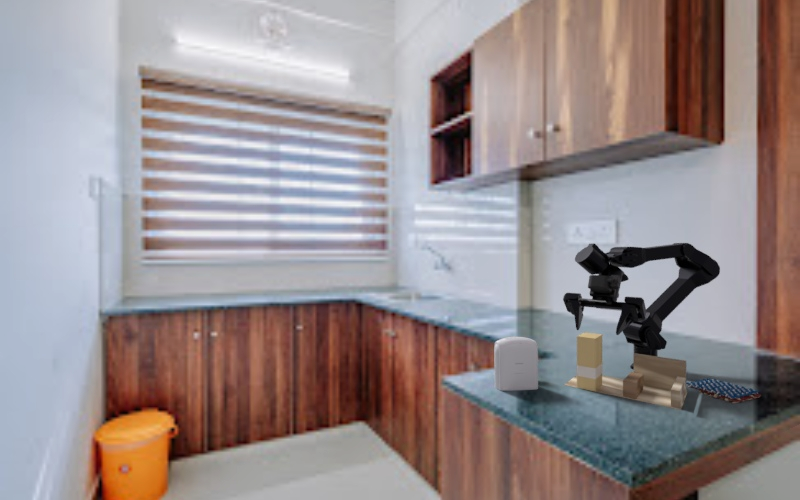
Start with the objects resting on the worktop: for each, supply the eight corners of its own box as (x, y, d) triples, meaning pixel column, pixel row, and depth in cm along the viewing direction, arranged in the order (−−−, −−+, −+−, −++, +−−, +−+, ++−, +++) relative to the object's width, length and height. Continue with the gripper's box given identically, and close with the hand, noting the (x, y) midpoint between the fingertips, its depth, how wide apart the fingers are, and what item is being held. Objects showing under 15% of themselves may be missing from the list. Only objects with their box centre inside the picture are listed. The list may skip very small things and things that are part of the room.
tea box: (584, 381, 98) (584, 332, 98) (602, 384, 95) (602, 334, 96) (576, 387, 93) (576, 336, 94) (595, 391, 91) (595, 338, 91)
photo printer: (497, 393, 91) (497, 339, 91) (491, 387, 95) (491, 335, 95) (541, 392, 92) (541, 338, 92) (533, 386, 96) (533, 334, 96)
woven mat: (735, 407, 85) (735, 397, 85) (683, 390, 95) (683, 382, 95) (763, 399, 89) (763, 390, 89) (711, 385, 99) (711, 376, 99)
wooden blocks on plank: (581, 373, 106) (581, 345, 106) (687, 393, 91) (687, 360, 91) (563, 387, 95) (563, 355, 95) (680, 412, 81) (680, 374, 81)
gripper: (565, 263, 110) (550, 307, 101) (643, 264, 97) (634, 315, 89) (574, 289, 116) (561, 333, 107) (649, 294, 103) (641, 344, 95)
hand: (596, 331), depth 100 cm, fingers open, 9 cm apart
